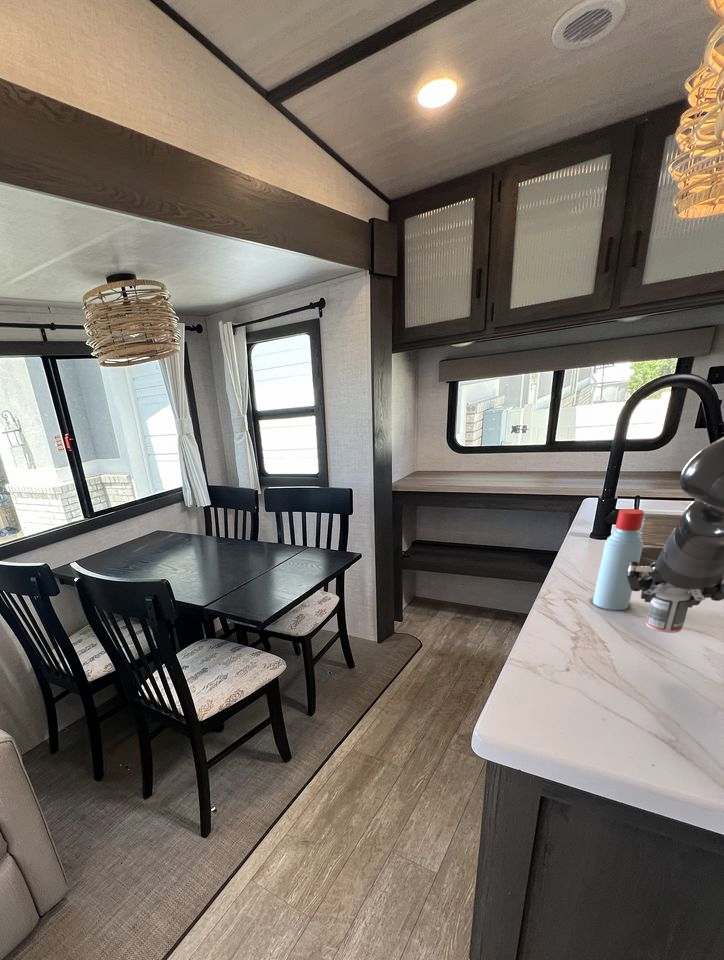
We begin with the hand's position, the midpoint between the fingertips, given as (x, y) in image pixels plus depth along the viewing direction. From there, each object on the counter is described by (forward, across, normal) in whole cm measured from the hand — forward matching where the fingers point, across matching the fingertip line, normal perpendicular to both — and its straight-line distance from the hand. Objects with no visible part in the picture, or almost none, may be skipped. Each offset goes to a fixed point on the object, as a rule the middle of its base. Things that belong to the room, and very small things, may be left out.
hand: (667, 599), depth 78 cm
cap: (+12, +6, -20) cm, 24 cm away
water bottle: (+24, +6, -8) cm, 26 cm away
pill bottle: (+1, 0, +5) cm, 5 cm away
